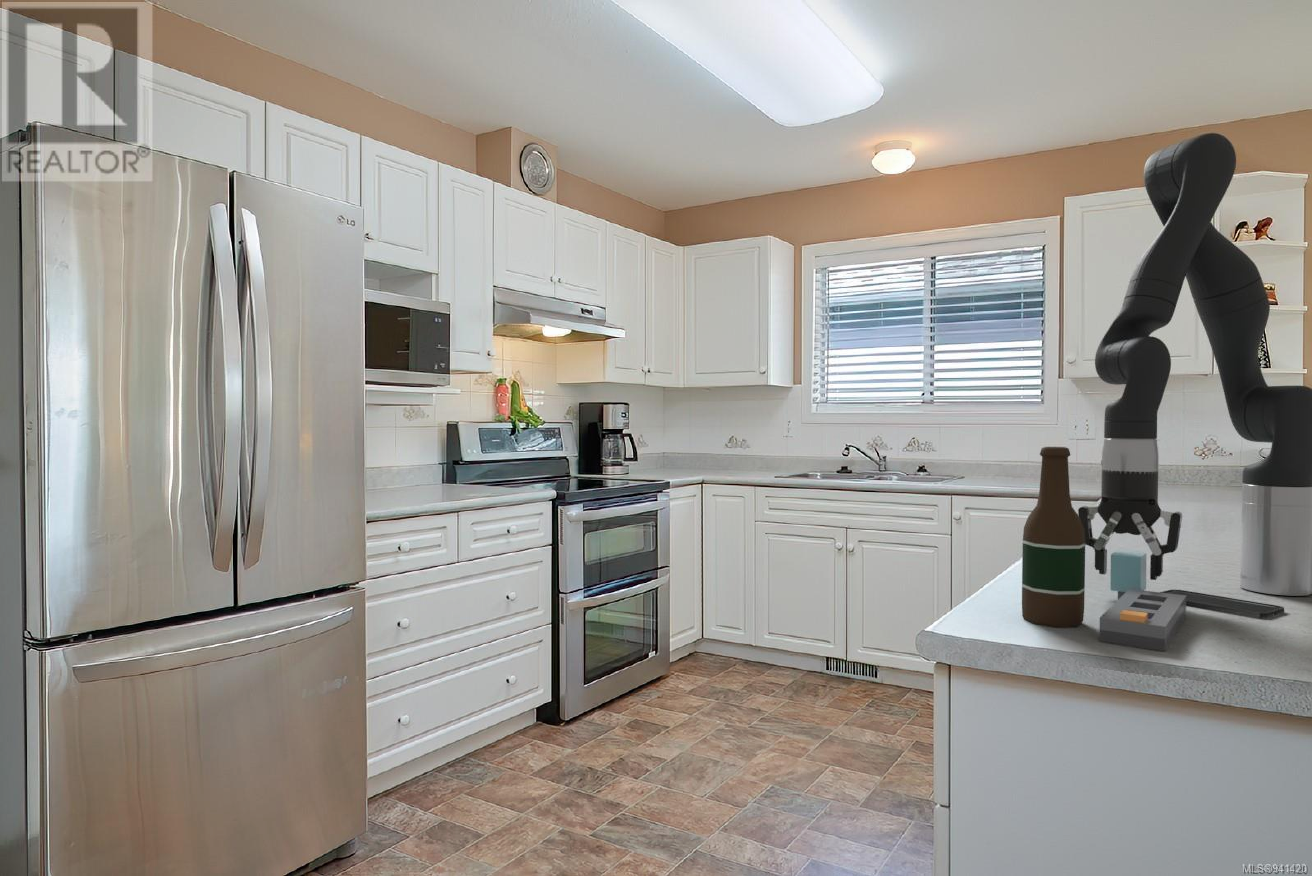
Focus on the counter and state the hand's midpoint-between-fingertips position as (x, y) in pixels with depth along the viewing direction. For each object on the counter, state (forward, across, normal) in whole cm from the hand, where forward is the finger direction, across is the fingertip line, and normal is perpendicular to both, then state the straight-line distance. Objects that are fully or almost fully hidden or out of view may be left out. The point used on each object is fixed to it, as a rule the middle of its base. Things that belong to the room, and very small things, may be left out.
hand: (1127, 576), depth 124 cm
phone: (+4, -11, -4) cm, 12 cm away
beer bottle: (+4, +6, +22) cm, 23 cm away
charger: (+4, 0, 0) cm, 4 cm away
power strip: (+4, -5, +18) cm, 19 cm away
